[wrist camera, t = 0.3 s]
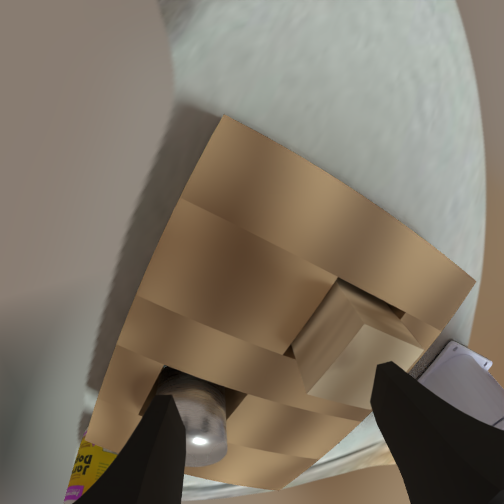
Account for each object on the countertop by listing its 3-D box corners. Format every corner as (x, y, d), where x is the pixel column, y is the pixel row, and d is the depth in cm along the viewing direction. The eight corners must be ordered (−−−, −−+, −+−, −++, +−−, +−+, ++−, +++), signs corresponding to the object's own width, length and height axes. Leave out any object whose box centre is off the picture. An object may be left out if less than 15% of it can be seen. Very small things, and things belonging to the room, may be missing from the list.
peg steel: (236, 374, 18) (241, 439, 14) (208, 412, 19) (208, 472, 15) (172, 350, 17) (161, 415, 13) (150, 392, 18) (138, 453, 14)
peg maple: (382, 299, 17) (424, 350, 13) (342, 352, 18) (370, 409, 14) (328, 270, 16) (364, 323, 12) (287, 331, 17) (306, 394, 13)
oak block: (432, 249, 20) (476, 281, 15) (271, 447, 26) (278, 490, 21) (223, 118, 16) (223, 114, 11) (100, 393, 22) (84, 440, 17)
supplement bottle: (97, 408, 23) (62, 537, 11) (164, 439, 25) (154, 566, 13) (78, 437, 24) (49, 544, 13) (136, 464, 26) (123, 570, 14)
